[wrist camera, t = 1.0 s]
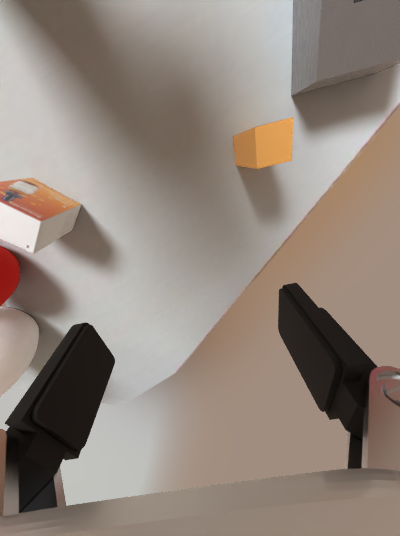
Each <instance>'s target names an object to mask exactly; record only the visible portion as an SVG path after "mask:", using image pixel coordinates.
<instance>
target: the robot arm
mask: <svg viewBox="0 0 400 536" xmlns="http://www.w3.org/2000/svg"><path fill="white" fill-rule="evenodd" d="M278 329H279V333H280V335H281V337H282V339H283V341H284V343H285V345H286V347H287V349H288V351H289V353H290V354H291V356H292V358H293V360H294V362H295V364H296V366H297V368H298V370H299V372H300V373H301V375H302V377H303V379H304V381H305V383H306V385H307V387H308V389H309V390H310V392H311V394H312V396H313V398H314V400H315V402H316V404H317V405H318V407H319V409H320V410H321V411H322V412H324V411H325V412H326V414H327V415H328V417H329V419H330V420H331V419H338V418H339V419H340V421H341V422H342V424H343V426H344V428H345V429H346V430H347V431H348V434H347V445H346V457H345V468H344V469H341V470H340V469H339V470H330V471H321V472H312V473H303V474H294V475H285V476H278V477H271V478H263V479H255V480H248V481H241V482H233V483H226V484H218V485H211V486H203V487H197V488H189V489H182V490H175V491H168V492H161V493H154V494H146V495H139V496H132V497H125V498H118V499H111V500H104V501H97V502H91V503H83V504H76V505H69V506H66V502H65V495H64V489H63V483H62V477H61V470H60V464H61V462H62V460H63V459H65V460H69V459H76V458H78V457H79V454H80V451H81V449H82V448H83V447H84V446H85V444H86V442H87V439H88V436H89V434H90V431H91V428H92V425H93V422H94V420H95V417H96V414H97V411H98V408H99V406H100V403H101V400H102V397H103V395H104V392H105V389H106V386H107V383H108V381H109V378H110V375H111V372H112V369H113V367H114V364H115V359H114V356H113V355H112V353H111V352H110V350H109V349H108V348H107V346H106V345H105V343H104V342H103V340H102V339H101V337H100V336H99V335H98V333H97V332H96V330H95V329H94V327H93V326H92V325H89V324H88V323H81V324H76V325H73V326H72V327H71V329H70V330H69V331H68V333H67V334H66V336H65V337H64V339H63V340H62V341H61V343H60V344H59V346H58V347H57V349H56V350H55V352H54V353H53V354H52V356H51V357H50V359H49V360H48V362H47V363H46V365H45V366H44V367H43V369H42V370H41V372H40V373H39V375H38V376H37V378H36V379H35V380H34V382H33V383H32V385H31V386H30V388H29V389H28V391H27V392H26V393H25V395H24V396H23V398H22V399H21V401H20V402H19V404H18V405H17V406H16V408H15V409H14V411H13V412H12V414H11V415H10V416H9V418H8V419H7V421H6V422H5V424H7V425H8V426H10V427H9V428H8V430H7V431H5V430H3V429H0V536H400V369H398V368H394V367H391V366H381V367H377V366H376V365H375V364H374V362H373V361H372V360H371V359H370V358H369V357H368V356H367V355H366V354H365V353H364V352H363V350H362V349H361V348H360V347H359V346H358V345H357V344H356V343H355V342H354V341H353V340H352V338H351V337H350V336H349V335H348V334H347V333H346V332H345V331H344V330H343V329H342V327H341V326H340V325H339V324H338V323H337V322H336V321H335V320H334V319H333V318H332V317H331V315H330V314H329V313H328V312H327V311H326V310H324V309H323V308H318V307H317V305H316V304H315V303H314V302H313V301H312V300H311V299H310V297H309V296H308V295H307V294H306V293H305V292H304V291H303V289H302V288H301V287H300V286H299V285H298V284H297V283H293V284H287V285H283V288H282V289H280V290H279V318H278Z"/></svg>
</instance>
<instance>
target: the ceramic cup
mask: <svg viewBox="0 0 400 536" xmlns="http://www.w3.org/2000/svg"><path fill="white" fill-rule="evenodd" d="M19 280H20V267H19V262H18V260H17V258H16V257H15V256H14V255H13V254H12V253H11V252H10V251H9V250H7V249H5V248H3V247H1V246H0V306H1V305H2V304H3V303H4V302H5V301H6V300H7V299H8V298H9V297H10V296H11V295H12V293H13V292H14V291H15V289H16V287H17V285H18V283H19Z"/></svg>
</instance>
